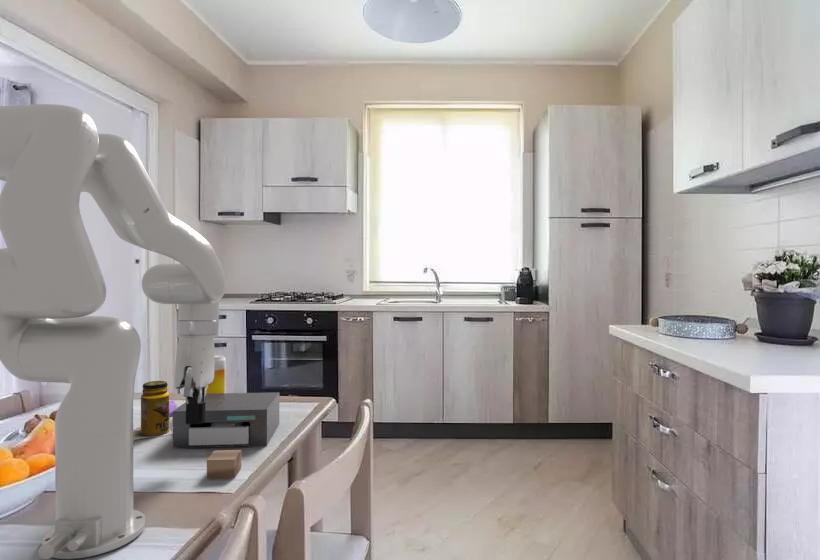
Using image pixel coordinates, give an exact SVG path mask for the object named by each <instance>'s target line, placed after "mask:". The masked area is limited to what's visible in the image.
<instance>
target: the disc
mask: <svg viewBox="0 0 820 560" xmlns="http://www.w3.org/2000/svg"><path fill="white" fill-rule="evenodd" d="M211 427H243V422H211Z"/></svg>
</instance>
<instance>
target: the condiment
mask: <svg viewBox="0 0 820 560" xmlns="http://www.w3.org/2000/svg"><path fill="white" fill-rule="evenodd" d="M168 385H169V384H168V382H167V381H166V380H152V381H147V382H144V383H143V384H142V390H141V391H142V394H141V396H140V429H138V430H137V429H133V441H135V440H142V439H147V438H148V439H150V438H157V437H164V436H170V435H173V430H171V428H170V417H169V401H170V393H169V392H168ZM154 436H155V437H154Z"/></svg>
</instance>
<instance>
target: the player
mask: <svg viewBox="0 0 820 560" xmlns="http://www.w3.org/2000/svg"><path fill="white" fill-rule="evenodd" d="M205 402H206V404H205V422H203V423H202V424H186V401H185V402H184V403H182V404H181V405H179V406H177V407H178V408H177V409H175V410H174V411H173V416H172V433H173V434H172V449H185V448H186V449H188V448H189V449H193V448H194V449H195V448H196V449H197V448H225V447H227V448H229V447H266V446H268V445H269V443H270V441H271V439H272V437H273V436H274V434H275V432H276V431H277V429H278V427H279V425H280V392H226V393H214V394H206V401H205ZM210 422H250V440H249V443H248V444H223V445H189V429H190V428H202V427H204V426H205V425H206V424H207V423H210Z"/></svg>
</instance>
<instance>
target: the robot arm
mask: <svg viewBox="0 0 820 560" xmlns="http://www.w3.org/2000/svg"><path fill="white" fill-rule="evenodd" d="M0 181H3V182H5V183H4V185H3V186H2V189H1V192H0V233H1V235H2V238H3V240H4V243H5V245H6V247H5V248H3V247H1V248H0V362H1V363H2V365H3V366H4V368H5V369H6V370H7V371H8V373H10V374H11V375H12V376H14V377H15V378H17V379H19V380H22V381H25V382H33V383H59V384H60V383H61V384H70V387H69V390H68V392H67V394H65V396H64V398H63V400H62V401H61V403H60V404H59V406H58V409H57V410H56V414H55V418H54V419H55V420H54V445H55V446H54V449H55V451H54V457H55V458H54V459H55V462H54V463H55V465H54V467H55V469H54V470H55V471H54V473H55V482H54V483H55V485H54V486H55V521H54V526H53V527H52V528H51V529H50V530H48V531H47V533H45V535H44V536H43V537H42V540H41V546H39V548H38V552H37V554H38V555H39V557H40V558H41V559H43V560H49V559H51V558H54V559H59V560H75V559H78V560H79V559H83V558H89V557H95V556H99V555H102V554H105V553H109V552H111V551H113V550H116V549H118V548H122V547H123V546H125V545H128V543H131V542H132V541H133V540H135V539H136V538H137V537H138V536H140V535H141V534H142V533H143V531H144V529H145V528H146V516H145V514H144V513H142V511H139V510H137V509H135V508H134V503H135V502H134V496H135V495H134V440H133V430H134V395H135V392H134V391H135V383H136V377H137V370H138V365H139V362H140V357H141V349H142V345H141V344H142V341H141V337H140V335H139V333H138V331H137V328H135V327H134V326H133V325H132V324H131V323H129V322H127V321H125V320H123V319H120V318H118V317H117V318H116V317H113V316H103V315H102V316H101V315H91V314H93V313H95V312H96V311H98V310H100V309H101V307H102V305H104V303H105V300H106V296H107V287H106V282H105V279H104V275H103V273H102V270H101V267H100V264H99V262H98V259H97V257H96V253H95V252H94V249H93V245H92V243H91V241H90V238H89V236H88V233H87V230H86V228H85V225H84V221H83V219H82V214H81V210H80V201H81V193H87V194H90V196H91V197H92V198H93V200H94V201H95V204H96V205H97V206H98V207H99V209H100V211H101V212H102V214H103V215H104V217H105V218H106V219H107V222H108V223H109V224H110V225H109V226H111V228H112V230H113V231H114V232H115V234H116V235H117V237H119V238H120V239H121V240H123V241H124V242H126V243H128V244H131V245H133V246H136V247H137V248H138V247H139V248H141V249H144V250H146V251H150V252H154V253H155V254H156V253H157V254H160V255H162V256H164V257H168V258H170V259H172V260H174V261H176V262H178V263H159V264H156V265H153V266H151V267H149V268H148V269H147V270H146V271H145V272H144V274H143V276H142V279H141V289H142V292H143V294H144V295H145V296H146V298H147V299H148V300H150V301H152V302H154V303H157V304H162V305H178V309H177V333H176V334H177V335H176V336H177V337H176V338H179V339H178V344H177V349H176V356H175V366H174V378H173V387H174V389H175V390H181V389H183V397H184V398H185V402H186V424H202V423H203V422H205V404H206V402H205V401H206V391H207V388H208V385H209V384H210V383H212V382H213V380H214V369H215V355H216V354H215V353H216V351H215V338H219V322H220V321H219V319H220V300H221V299H222V298H223V297H224V295H225V294H226V293H225V292H226V290H227V289H226V288H227V279H226V275H225V271H224V268H223V266H222V263H221V261H220V259H219V257H218V255H217V252H216V251H215V249H214V247H213V246H212V245H211V244H210V242H209V241H208V240H207V239H206V238H205V237H203V235H201V234H200V233H199V232H197V231H196V230H195V229H193V228H192V227H191V226H190V225H188V224H186V222H183V221H182V220H180V219H178V218H177V217H176V216H174V215H172V214H171V213H170V212H169V211H168V210H167V208H166V206H165V203H164V202H163V200H162V198H161V196H160V194H159V192H158V191H157V189H156V187H155V185H154V183H153V182H152V179H151V177H150V176H149V174H148V172H147V170H146V168H145V166H144V164H143V161H142V160H141V158H140V156H139V155H138V152H137V151H136V149H135V147H134V146H133V144H131V143H130V142H129V141H128V140H126V139H125V138H123V137H121V136H118V135H115V134H110V133H109V134H108V133H99V132H98V128H97V126H96V124H95V122H94V120H93V119H92V117H91V116H90V115H89V114H88V113H87V112H85V111H83V110H81V109H79V108H77V107H74V106H70V105H64V104H63V105H62V104H53V103H51V104H49V103H48V104H47V103H43V104H42V103H40V104H39V103H37V104H35V103H34V104H17V105H0Z"/></svg>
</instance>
